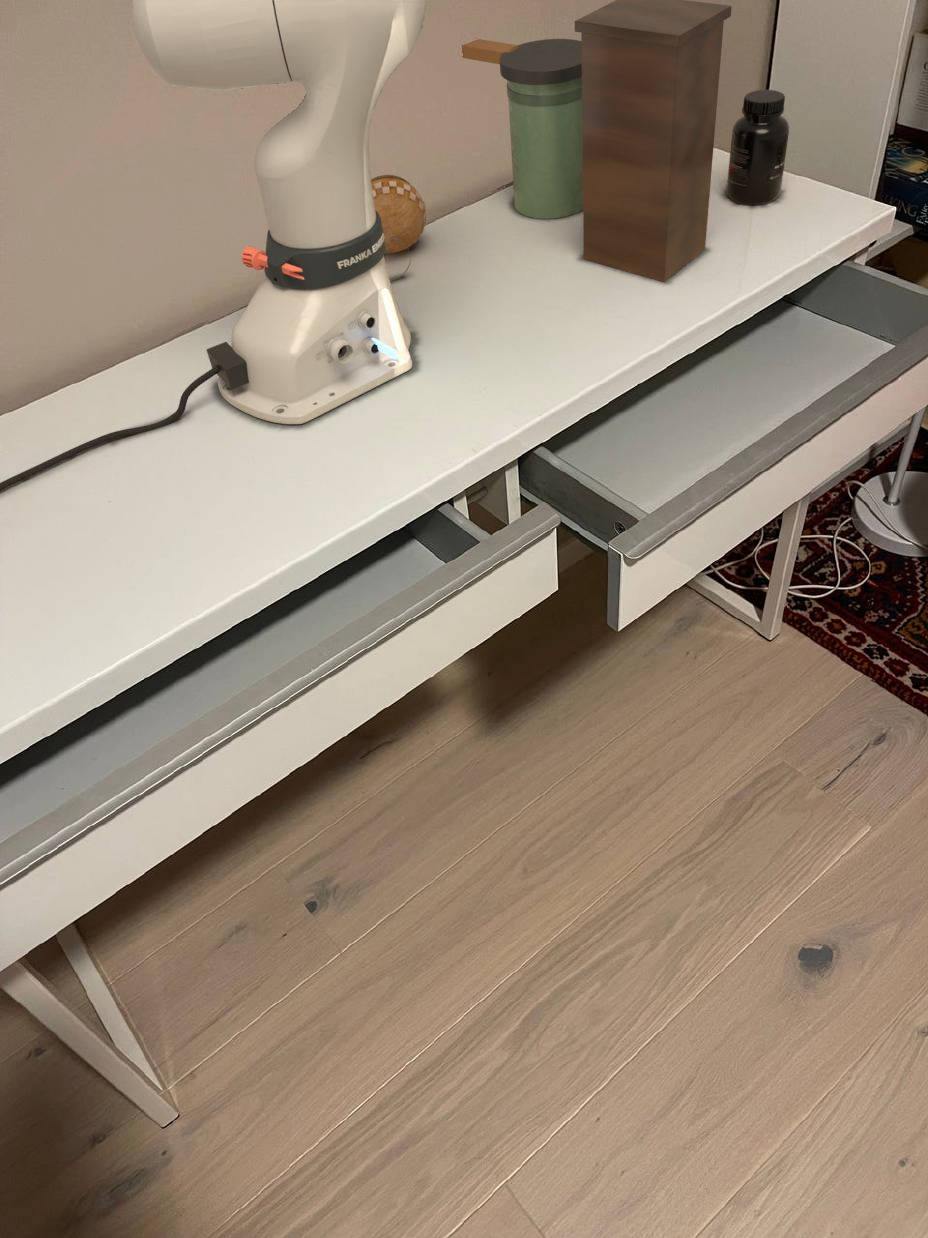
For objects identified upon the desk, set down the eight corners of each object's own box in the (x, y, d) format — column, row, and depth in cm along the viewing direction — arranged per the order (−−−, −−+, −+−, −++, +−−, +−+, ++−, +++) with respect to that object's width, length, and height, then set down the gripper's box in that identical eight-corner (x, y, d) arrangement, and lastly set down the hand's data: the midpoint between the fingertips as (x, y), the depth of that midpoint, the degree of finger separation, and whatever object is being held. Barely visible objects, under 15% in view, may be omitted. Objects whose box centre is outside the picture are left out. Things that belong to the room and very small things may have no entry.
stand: (665, 285, 115) (679, 35, 97) (577, 259, 122) (574, 20, 103) (711, 249, 120) (732, 5, 102) (623, 226, 126) (628, -8, 108)
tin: (559, 225, 128) (556, 88, 117) (498, 208, 133) (488, 75, 122) (605, 194, 133) (606, 60, 122) (544, 180, 138) (539, 49, 127)
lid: (557, 90, 116) (557, 76, 115) (426, 66, 126) (424, 53, 125) (614, 58, 122) (614, 45, 120) (484, 38, 132) (483, 25, 131)
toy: (445, 282, 122) (432, 204, 130) (417, 222, 115) (405, 143, 122) (375, 308, 124) (367, 230, 132) (343, 251, 117) (336, 172, 124)
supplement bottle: (785, 203, 127) (799, 103, 118) (730, 208, 127) (740, 108, 118) (774, 181, 131) (787, 83, 123) (722, 185, 132) (731, 88, 123)
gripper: (311, 69, 133) (366, 22, 122) (413, 23, 143) (473, -25, 132) (335, 116, 136) (391, 74, 125) (434, 67, 146) (494, 24, 135)
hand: (434, 23), depth 129 cm, fingers open, 8 cm apart
